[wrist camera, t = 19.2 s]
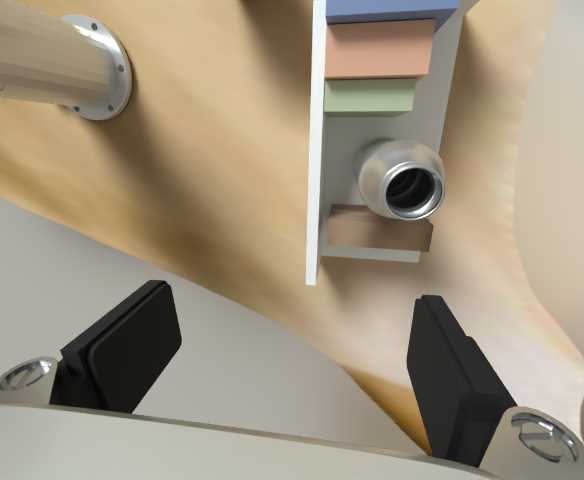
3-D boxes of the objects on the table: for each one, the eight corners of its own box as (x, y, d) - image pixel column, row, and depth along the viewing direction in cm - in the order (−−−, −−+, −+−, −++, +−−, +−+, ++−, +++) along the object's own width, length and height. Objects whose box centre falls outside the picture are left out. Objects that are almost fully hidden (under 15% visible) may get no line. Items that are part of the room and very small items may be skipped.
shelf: (313, 252, 43) (302, 297, 31) (322, 14, 33) (310, -56, 21) (416, 260, 41) (447, 312, 29) (462, 6, 30) (540, -80, 18)
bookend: (330, 224, 40) (327, 244, 32) (331, 203, 39) (328, 219, 31) (411, 229, 38) (428, 251, 31) (415, 207, 37) (433, 225, 30)
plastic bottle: (349, 142, 36) (352, 152, 17) (405, 131, 34) (473, 129, 16) (355, 191, 38) (363, 247, 20) (408, 183, 36) (472, 235, 18)
